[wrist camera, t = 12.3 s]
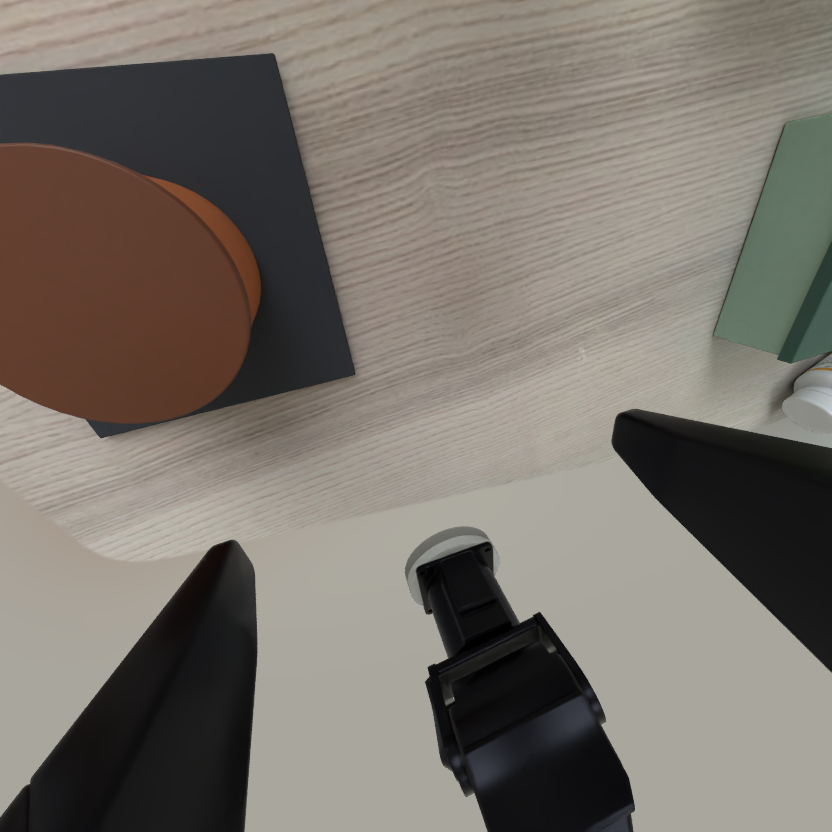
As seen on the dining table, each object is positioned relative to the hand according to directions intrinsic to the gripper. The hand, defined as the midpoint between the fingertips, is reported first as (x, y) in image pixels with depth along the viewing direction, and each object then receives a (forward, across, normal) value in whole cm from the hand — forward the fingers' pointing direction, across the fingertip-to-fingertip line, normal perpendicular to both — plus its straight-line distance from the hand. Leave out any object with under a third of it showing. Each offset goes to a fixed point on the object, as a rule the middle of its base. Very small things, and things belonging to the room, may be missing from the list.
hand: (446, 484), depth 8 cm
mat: (+12, +7, -4) cm, 14 cm away
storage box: (+12, -29, 0) cm, 31 cm away
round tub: (+11, +7, -4) cm, 14 cm away
